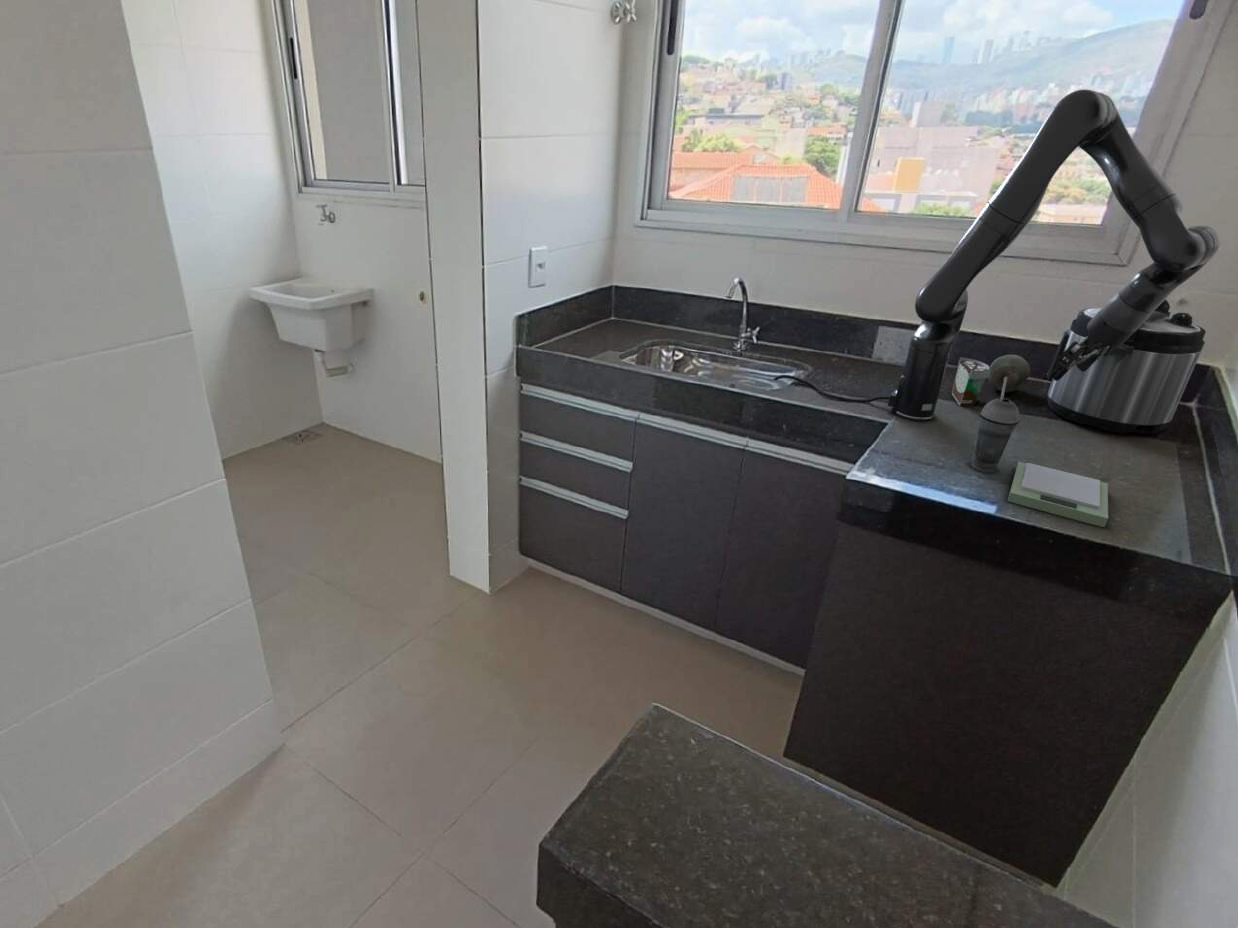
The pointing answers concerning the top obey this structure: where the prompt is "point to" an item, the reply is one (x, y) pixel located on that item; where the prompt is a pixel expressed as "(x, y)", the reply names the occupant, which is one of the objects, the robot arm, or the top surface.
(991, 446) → the beverage cup
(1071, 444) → the top surface
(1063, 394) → the pressure cooker
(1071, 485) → the kitchen scale
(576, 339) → the top surface
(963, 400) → the food container
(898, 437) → the top surface
